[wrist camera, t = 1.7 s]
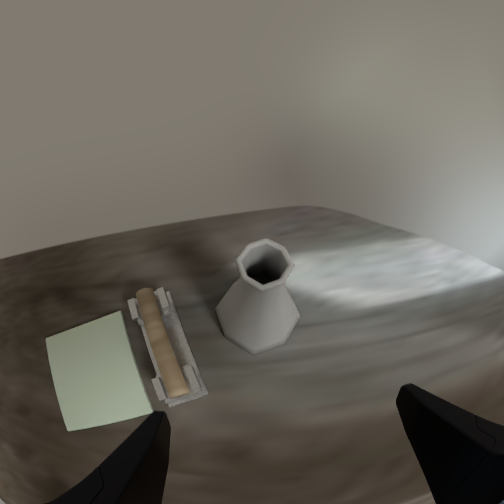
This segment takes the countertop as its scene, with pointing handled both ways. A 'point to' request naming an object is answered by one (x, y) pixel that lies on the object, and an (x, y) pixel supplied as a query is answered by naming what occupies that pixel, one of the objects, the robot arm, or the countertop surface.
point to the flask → (259, 299)
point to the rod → (161, 344)
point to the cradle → (179, 348)
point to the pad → (96, 374)
